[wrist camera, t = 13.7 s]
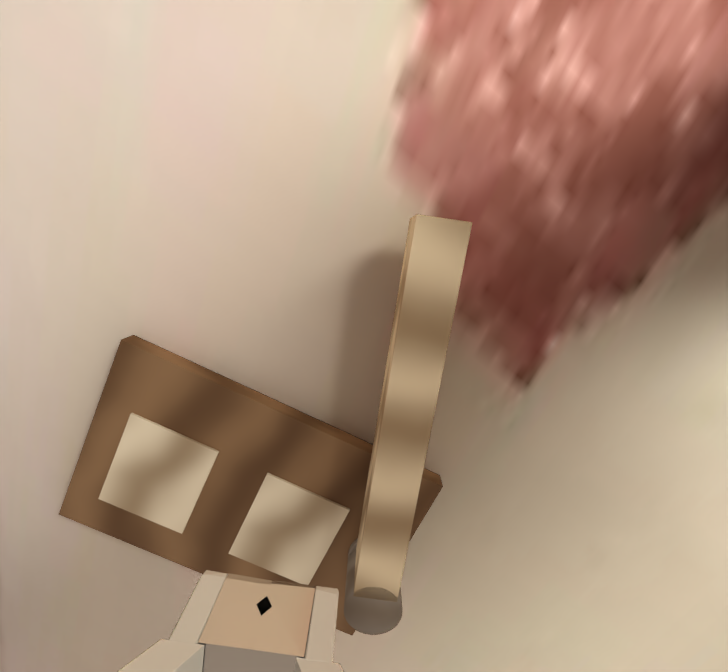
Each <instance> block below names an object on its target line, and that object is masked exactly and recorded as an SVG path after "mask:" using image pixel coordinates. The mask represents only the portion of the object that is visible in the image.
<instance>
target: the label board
mask: <svg viewBox="0 0 728 672" xmlns="http://www.w3.org/2000/svg"><path fill="white" fill-rule="evenodd" d="M372 448H373V445H372V444H370V443H368V442H366V441H364V440H361V439H359V438H357V437H355V436H353V435H350V434H348V433H346V432H344V431H342V430H340V429H337V428H335V427H333V426H331V425H329V424H326V423H324V422H322V421H320V420H318V419H316V418H313V417H311V416H309V415H307V414H305V413H302V412H300V411H298V410H296V409H294V408H292V407H289V406H287V405H285V404H283V403H281V402H278V401H276V400H274V399H272V398H270V397H268V396H265V395H263V394H261V393H259V392H257V391H255V390H252V389H250V388H248V387H246V386H244V385H241V384H239V383H237V382H235V381H233V380H231V379H228V378H226V377H224V376H222V375H220V374H217V373H215V372H213V371H211V370H209V369H207V368H204V367H202V366H200V365H198V364H196V363H193V362H191V361H189V360H187V359H185V358H183V357H180V356H178V355H176V354H174V353H172V352H169V351H167V350H165V349H163V348H161V347H159V346H156V345H154V344H152V343H150V342H148V341H145V340H143V339H141V338H139V337H137V336H135V335H132V336H130V337H127V338H124V339H122V340H121V342H120V345H119V347H118V350H117V353H116V356H115V359H114V361H113V364H112V367H111V370H110V373H109V375H108V378H107V381H106V384H105V387H104V389H103V392H102V395H101V398H100V401H99V403H98V406H97V409H96V412H95V415H94V417H93V420H92V423H91V426H90V429H89V431H88V434H87V437H86V440H85V443H84V445H83V448H82V451H81V454H80V457H79V459H78V462H77V465H76V468H75V471H74V473H73V476H72V479H71V482H70V485H69V487H68V490H67V493H66V496H65V499H64V501H63V504H62V507H61V510H60V513H59V515H62V516H64V517H67V518H69V519H72V520H74V521H76V522H79V523H81V524H84V525H86V526H88V527H91V528H93V529H96V530H98V531H101V532H103V533H105V534H108V535H110V536H113V537H115V538H118V539H120V540H122V541H125V542H127V543H130V544H132V545H134V546H137V547H139V548H142V549H144V550H147V551H149V552H151V553H154V554H156V555H159V556H161V557H163V558H166V559H168V560H171V561H173V562H176V563H178V564H180V565H183V566H185V567H188V568H190V569H193V570H195V571H197V572H200V573H202V574H203V573H204V572H205V571H206V570H210V571H215V572H221V573H227V574H229V573H230V574H236V575H242V576H248V577H254V578H260V579H265V580H271V581H273V580H275V581H282V582H290V583H298V584H306V585H313V586H321V587H329V588H337V589H338V592H339V596H338V608H337V619H336V629H338V630H340V631H343V632H345V633H347V634H350V635H353V633H354V632H355V629H354V628H352V627H351V626H350V625H349V623H348V622H347V621H346V619H345V616H344V600H345V587H346V574H347V562H348V558H349V556H350V554H351V553H352V551H353V550H354V549H356V546H357V540H358V534H359V528H360V522H361V516H362V510H363V504H364V497H365V491H366V485H367V479H368V473H369V467H370V461H371V455H372ZM442 487H443V486H442V482H441V479H440V475H438V474H436V473H433V472H431V471H429V470H427V469H425V468H424V469H423V474H422V479H421V484H420V489H419V494H418V499H417V504H416V509H415V514H414V519H413V524H412V529H411V534H410V539H411V538H412V536H413V535H414V533H415V531H416V530H417V528H418V526H419V525H420V523H421V521H422V520H423V518H424V516H425V515H426V513H427V512H428V510H429V508H430V507H431V505H432V503H433V502H434V500H435V498H436V497H437V495H438V493H439V492H440V490H441V488H442ZM410 539H409V541H410ZM315 589H316V587H315ZM314 595H315V594H314ZM312 608H313V607H312Z"/></svg>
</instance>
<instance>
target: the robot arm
mask: <svg viewBox="0 0 728 672" xmlns="http://www.w3.org/2000/svg"><path fill="white" fill-rule="evenodd" d="M315 587H316V589H315ZM314 594H315V595H314ZM338 596H339V592H338V589H337V588H329V587H321V586H313V585H306V584H298V583H290V582H282V581H275V580H273V581H271V580H265V579H260V578H254V577H248V576H242V575H236V574H230V573H229V574H227V573H221V572H215V571H210V570H206V571H205V572H204V573H203V574H202V576H201V577H200V579H199V581H198V583H197V585H196V587H195V589H194V591H193V593H192V595H191V597H190V599H189V601H188V603H187V605H186V606H185V608H184V610H183V612H182V614H181V616H180V618H179V620H178V622H177V624H176V626H175V628H174V630H173V632H172V634H171V636H170V638H169V640H166V639H160V640H159V641H158V642H156V643H155V644H154V645H152V646H151V647H150V648H148V649H147V650H146V651H144V652H143V653H142V654H140V655H139V656H138V657H136V658H135V659H134V660H132V661H131V662H130V663H128V664H127V665H126V666H124V667H123V668H122V669H120V670H119V671H118V672H344V671H343V669H342V667H341V665H340V663H334V662H333V653H334V642H335V630H336V619H337V608H338ZM312 607H313V608H312Z"/></svg>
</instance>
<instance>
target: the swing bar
mask: <svg viewBox="0 0 728 672" xmlns="http://www.w3.org/2000/svg"><path fill="white" fill-rule="evenodd" d="M471 227H472V222H466V221H459V220H453V219H446V218H439V217H432V216H426V215H419V214H416V215H415V216H413V217H412V218H410V222H409V228H408V234H407V240H406V247H405V253H404V259H403V265H402V271H401V277H400V283H399V289H398V296H397V302H396V308H395V314H394V320H393V326H392V332H391V338H390V344H389V351H388V357H387V363H386V369H385V375H384V381H383V387H382V393H381V400H380V406H379V412H378V418H377V424H376V430H375V436H374V442H373V448H372V455H371V461H370V467H369V473H368V479H367V485H366V491H365V497H364V504H363V510H362V516H361V522H360V528H359V534H358V540H357V546H356V549H354V550H353V551H352V553H351V554H350V556H349V558H348V562H347V574H346V587H345V600H344V616H345V619H346V621H347V622H348V623H349V625H350V626H351V627H352V628H354V629H355V630H357V631H359V632H361V633H364V634H370V635H377V634H383V633H386V632H388V631H390V630H392V629H393V628H394V627H395V626H396V625H397V624H398V623H399V621H400V619H401V617H402V600H401V588H400V585H401V580H402V575H403V570H404V565H405V560H406V555H407V550H408V544H409V539H410V534H411V529H412V524H413V519H414V514H415V509H416V504H417V499H418V494H419V489H420V484H421V479H422V474H423V469H424V464H425V459H426V454H427V449H428V444H429V439H430V433H431V428H432V423H433V418H434V413H435V408H436V403H437V398H438V393H439V388H440V383H441V378H442V373H443V368H444V363H445V358H446V353H447V348H448V343H449V338H450V333H451V328H452V323H453V317H454V312H455V307H456V302H457V297H458V292H459V287H460V282H461V277H462V272H463V267H464V262H465V257H466V252H467V247H468V242H469V237H470V232H471Z"/></svg>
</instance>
